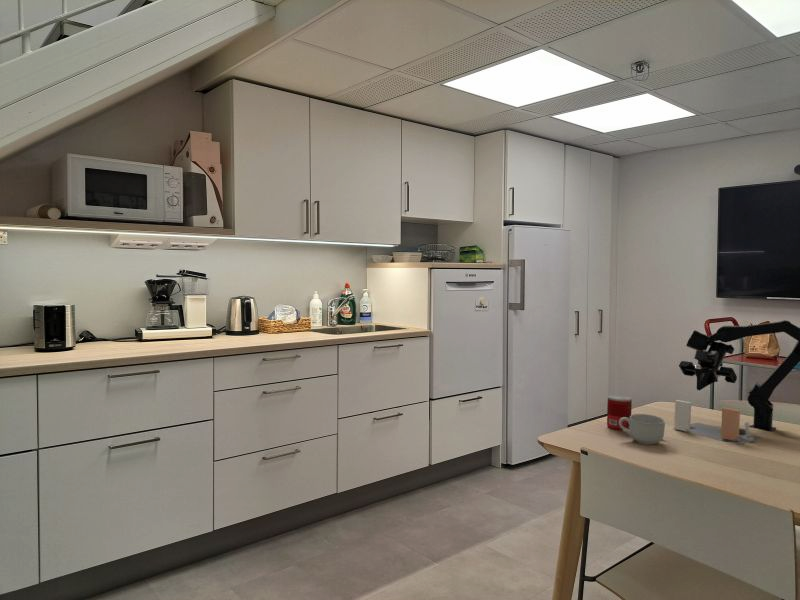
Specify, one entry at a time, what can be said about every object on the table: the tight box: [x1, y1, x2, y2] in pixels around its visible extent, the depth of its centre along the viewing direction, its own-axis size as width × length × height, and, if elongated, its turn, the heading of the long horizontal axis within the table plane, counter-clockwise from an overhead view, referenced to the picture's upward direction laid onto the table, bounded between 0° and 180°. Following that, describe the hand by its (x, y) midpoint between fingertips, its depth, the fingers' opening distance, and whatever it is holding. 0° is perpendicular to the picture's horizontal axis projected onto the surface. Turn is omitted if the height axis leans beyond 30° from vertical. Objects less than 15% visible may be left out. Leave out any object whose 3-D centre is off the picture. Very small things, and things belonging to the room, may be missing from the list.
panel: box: [672, 421, 764, 446], centre depth 192 cm, size 16×22×7 cm
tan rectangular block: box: [720, 407, 741, 441], centre depth 185 cm, size 3×5×10 cm, turn 34°
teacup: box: [619, 413, 666, 446], centre depth 185 cm, size 14×11×8 cm
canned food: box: [606, 394, 633, 431], centre depth 201 cm, size 8×8×11 cm
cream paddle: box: [673, 399, 692, 432], centre depth 195 cm, size 3×5×10 cm, turn 34°
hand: (697, 389), depth 203 cm, fingers closed
